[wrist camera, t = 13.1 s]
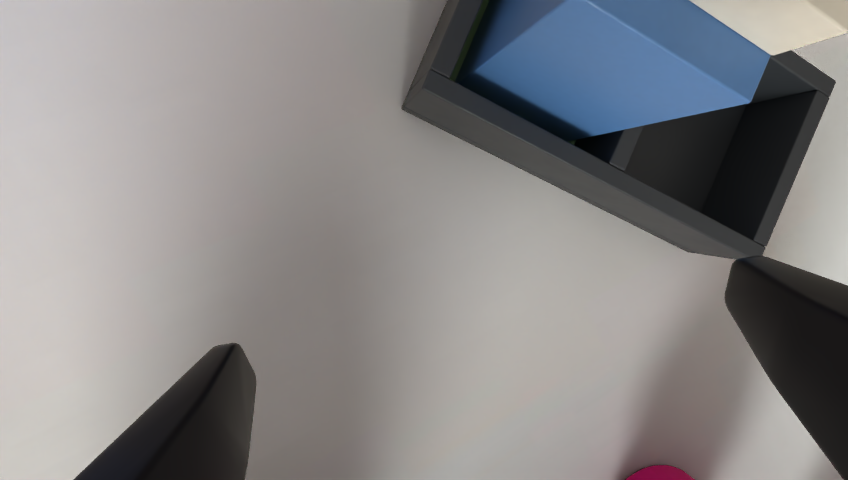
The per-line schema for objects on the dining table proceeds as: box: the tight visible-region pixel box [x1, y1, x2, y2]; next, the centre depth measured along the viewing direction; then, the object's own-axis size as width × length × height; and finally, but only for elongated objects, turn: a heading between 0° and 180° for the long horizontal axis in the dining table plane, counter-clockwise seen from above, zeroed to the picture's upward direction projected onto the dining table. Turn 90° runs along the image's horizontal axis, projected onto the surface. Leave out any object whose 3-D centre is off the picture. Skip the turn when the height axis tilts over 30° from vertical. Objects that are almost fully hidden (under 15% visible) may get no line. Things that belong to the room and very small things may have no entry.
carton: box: [455, 0, 848, 141], centre depth 15 cm, size 6×6×13 cm
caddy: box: [402, 0, 836, 259], centre depth 21 cm, size 9×17×4 cm, turn 66°
